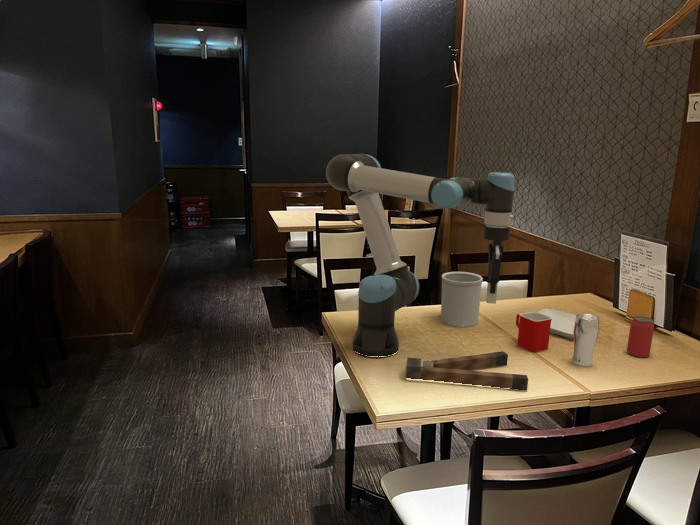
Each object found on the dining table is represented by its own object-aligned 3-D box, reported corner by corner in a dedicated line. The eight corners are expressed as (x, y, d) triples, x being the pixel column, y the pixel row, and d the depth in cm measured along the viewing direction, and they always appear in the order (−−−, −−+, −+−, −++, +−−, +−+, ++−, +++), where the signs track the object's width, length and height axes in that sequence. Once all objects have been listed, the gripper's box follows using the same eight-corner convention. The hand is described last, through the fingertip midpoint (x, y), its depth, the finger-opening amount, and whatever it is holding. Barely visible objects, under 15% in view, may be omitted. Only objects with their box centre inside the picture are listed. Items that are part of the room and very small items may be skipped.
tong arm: (434, 375, 148) (435, 364, 147) (430, 371, 150) (431, 360, 150) (506, 365, 156) (508, 354, 155) (502, 361, 158) (503, 351, 157)
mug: (551, 348, 169) (554, 318, 167) (533, 353, 166) (536, 322, 163) (523, 336, 180) (526, 307, 177) (506, 340, 176) (508, 310, 174)
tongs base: (405, 380, 145) (406, 365, 144) (406, 371, 151) (407, 356, 150) (527, 391, 140) (528, 375, 139) (523, 381, 146) (525, 366, 145)
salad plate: (517, 326, 191) (517, 318, 190) (545, 314, 204) (546, 306, 204) (572, 343, 175) (574, 334, 174) (599, 329, 189) (601, 320, 188)
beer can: (637, 359, 162) (643, 323, 160) (621, 351, 169) (626, 316, 166) (654, 357, 164) (660, 321, 161) (638, 349, 170) (643, 314, 168)
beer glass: (587, 358, 162) (593, 313, 159) (598, 367, 156) (605, 320, 152) (565, 358, 162) (571, 313, 159) (575, 367, 155) (581, 320, 152)
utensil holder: (471, 330, 184) (475, 283, 180) (433, 322, 192) (435, 277, 188) (484, 319, 197) (488, 275, 193) (447, 312, 204) (450, 269, 200)
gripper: (513, 230, 144) (506, 310, 150) (507, 222, 157) (501, 296, 163) (486, 228, 145) (480, 308, 151) (482, 221, 158) (476, 295, 164)
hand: (491, 302), depth 157 cm, fingers closed
